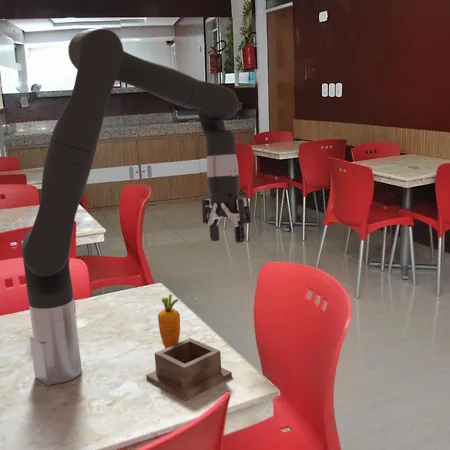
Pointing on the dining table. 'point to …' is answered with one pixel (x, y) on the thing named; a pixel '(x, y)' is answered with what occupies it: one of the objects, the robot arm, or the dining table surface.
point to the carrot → (169, 323)
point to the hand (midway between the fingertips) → (227, 241)
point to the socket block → (188, 368)
